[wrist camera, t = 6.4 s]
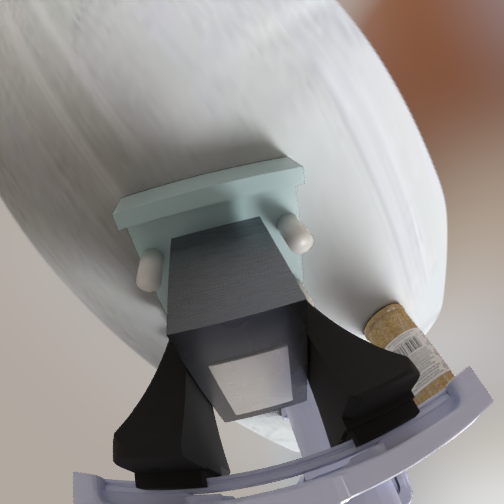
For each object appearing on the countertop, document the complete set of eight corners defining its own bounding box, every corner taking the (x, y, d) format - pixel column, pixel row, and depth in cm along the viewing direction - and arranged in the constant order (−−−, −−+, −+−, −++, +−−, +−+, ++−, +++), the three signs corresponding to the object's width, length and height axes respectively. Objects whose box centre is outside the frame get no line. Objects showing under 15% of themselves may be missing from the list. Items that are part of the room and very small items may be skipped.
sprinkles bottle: (361, 343, 24) (426, 456, 13) (363, 314, 21) (445, 445, 10) (399, 323, 24) (468, 425, 13) (405, 293, 21) (491, 406, 10)
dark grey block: (275, 322, 16) (307, 402, 11) (210, 339, 15) (225, 423, 11) (259, 216, 12) (308, 300, 7) (170, 238, 12) (166, 337, 7)
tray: (300, 311, 19) (314, 340, 17) (185, 341, 18) (187, 373, 16) (288, 156, 13) (310, 171, 11) (121, 198, 12) (107, 222, 10)
